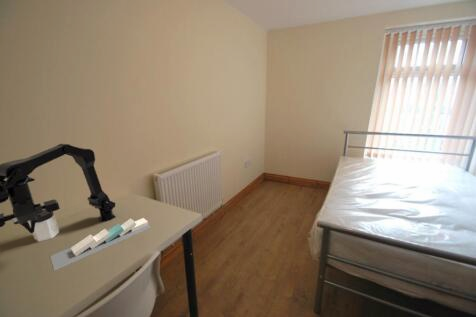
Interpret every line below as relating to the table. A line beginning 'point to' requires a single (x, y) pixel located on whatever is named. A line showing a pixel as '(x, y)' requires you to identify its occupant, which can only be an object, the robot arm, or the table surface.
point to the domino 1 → (83, 245)
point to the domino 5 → (139, 224)
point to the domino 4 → (127, 226)
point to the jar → (45, 226)
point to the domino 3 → (114, 232)
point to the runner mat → (88, 250)
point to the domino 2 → (100, 238)
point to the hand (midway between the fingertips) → (32, 232)
